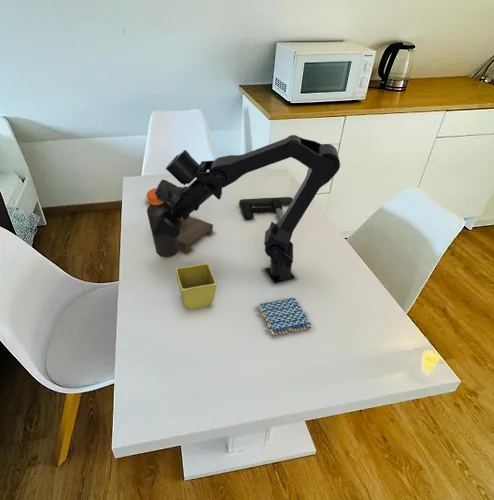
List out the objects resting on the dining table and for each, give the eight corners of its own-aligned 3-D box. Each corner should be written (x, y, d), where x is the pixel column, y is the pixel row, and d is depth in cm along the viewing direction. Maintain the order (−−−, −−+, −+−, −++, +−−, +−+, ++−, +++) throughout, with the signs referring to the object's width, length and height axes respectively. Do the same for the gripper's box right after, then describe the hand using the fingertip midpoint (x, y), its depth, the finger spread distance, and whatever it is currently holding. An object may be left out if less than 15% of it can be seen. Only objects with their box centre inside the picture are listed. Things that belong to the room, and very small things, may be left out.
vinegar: (152, 250, 115) (138, 193, 101) (171, 240, 118) (159, 183, 104) (164, 261, 110) (151, 203, 97) (184, 250, 113) (174, 192, 100)
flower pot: (182, 316, 97) (181, 289, 92) (176, 294, 104) (174, 267, 99) (216, 310, 99) (217, 283, 94) (208, 288, 106) (208, 262, 101)
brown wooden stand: (212, 233, 129) (212, 208, 123) (187, 253, 119) (185, 227, 114) (184, 222, 134) (183, 198, 129) (157, 241, 125) (154, 215, 119)
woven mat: (294, 300, 103) (295, 295, 101) (312, 329, 94) (313, 324, 93) (257, 307, 100) (257, 301, 99) (272, 338, 92) (273, 332, 91)
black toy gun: (302, 217, 133) (290, 193, 146) (245, 220, 131) (238, 196, 143) (301, 225, 135) (289, 201, 148) (245, 228, 133) (237, 204, 146)
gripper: (180, 159, 106) (146, 192, 114) (162, 189, 91) (123, 226, 98) (209, 187, 109) (174, 218, 117) (196, 221, 94) (156, 253, 102)
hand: (157, 227), depth 109 cm, fingers closed on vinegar, 7 cm apart
